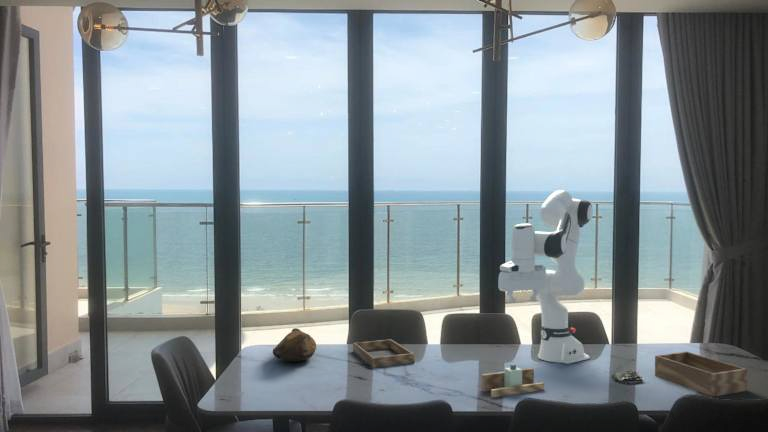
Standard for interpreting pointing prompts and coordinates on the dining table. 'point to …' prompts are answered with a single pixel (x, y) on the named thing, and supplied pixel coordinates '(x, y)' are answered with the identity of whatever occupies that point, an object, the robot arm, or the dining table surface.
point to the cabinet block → (512, 376)
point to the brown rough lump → (295, 346)
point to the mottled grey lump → (627, 378)
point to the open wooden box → (701, 373)
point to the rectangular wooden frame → (402, 358)
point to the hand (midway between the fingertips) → (522, 301)
